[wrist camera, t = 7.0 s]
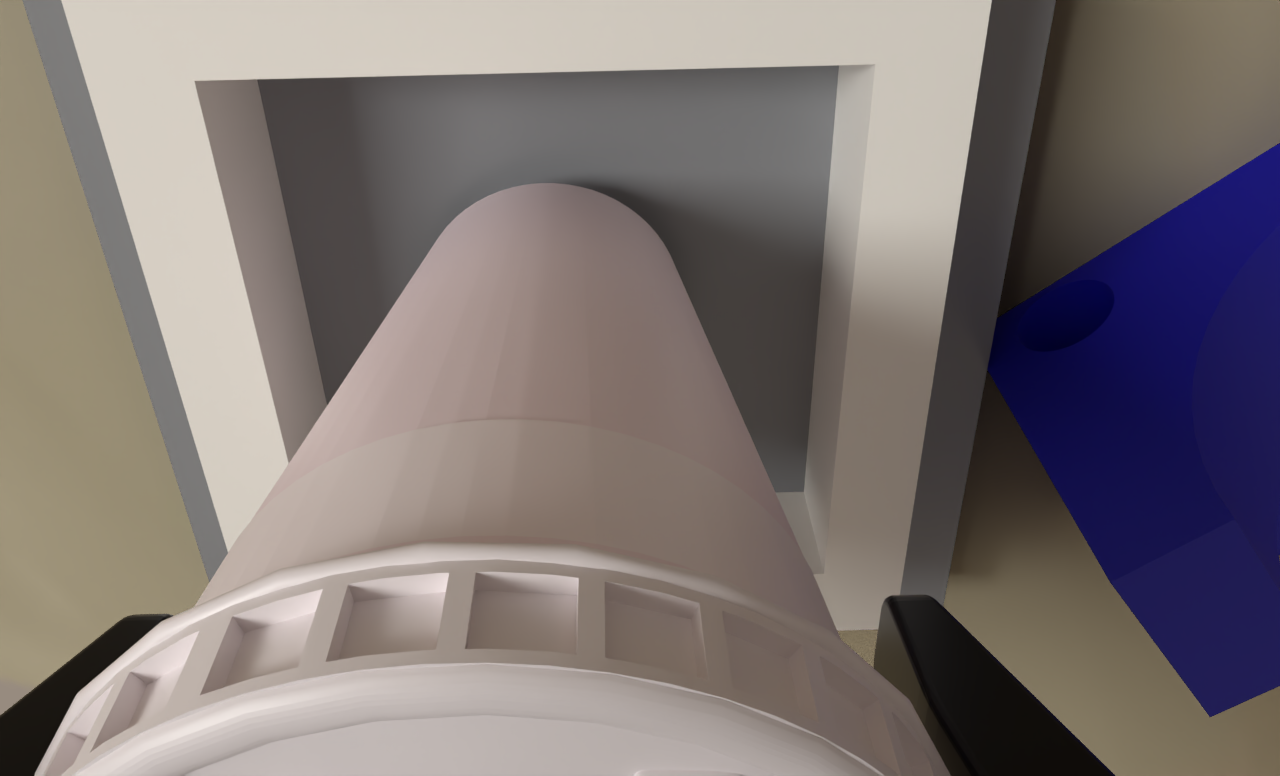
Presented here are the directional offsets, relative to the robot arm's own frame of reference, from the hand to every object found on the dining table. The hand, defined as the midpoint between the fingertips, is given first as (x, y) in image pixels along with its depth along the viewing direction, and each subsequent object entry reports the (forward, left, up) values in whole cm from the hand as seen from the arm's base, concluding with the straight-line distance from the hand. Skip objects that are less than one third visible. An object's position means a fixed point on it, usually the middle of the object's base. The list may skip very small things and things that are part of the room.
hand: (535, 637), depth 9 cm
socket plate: (0, 0, -8) cm, 8 cm away
